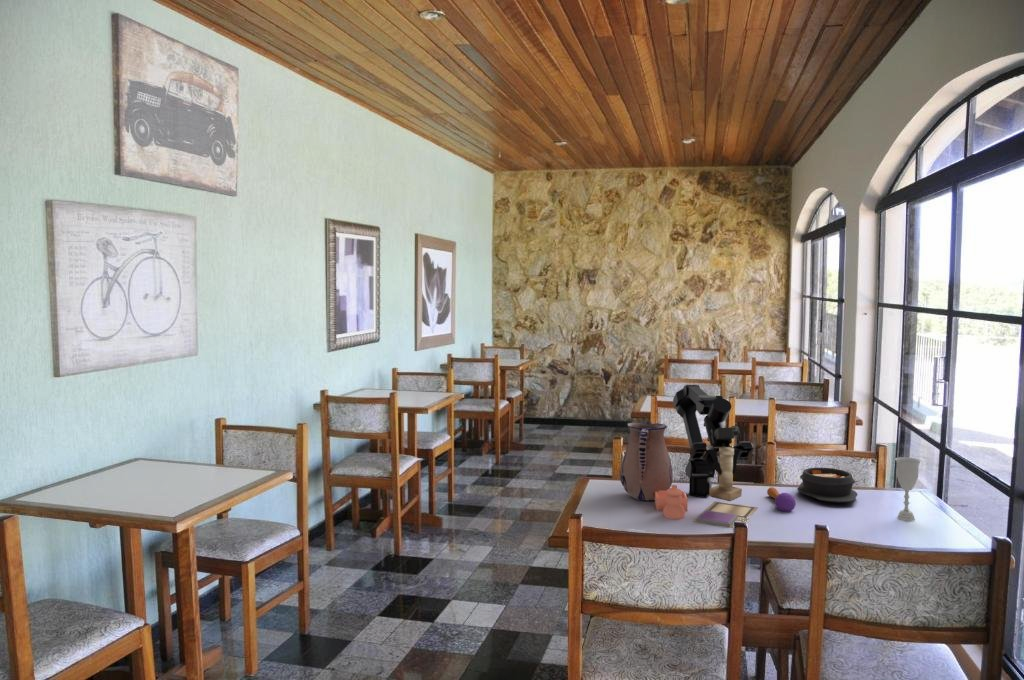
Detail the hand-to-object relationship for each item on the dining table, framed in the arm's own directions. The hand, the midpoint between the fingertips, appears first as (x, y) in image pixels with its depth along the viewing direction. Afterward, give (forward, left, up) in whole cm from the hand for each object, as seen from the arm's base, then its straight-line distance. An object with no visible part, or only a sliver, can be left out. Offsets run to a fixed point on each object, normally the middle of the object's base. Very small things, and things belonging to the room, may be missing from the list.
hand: (727, 474), depth 222 cm
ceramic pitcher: (-29, +8, -14) cm, 33 cm away
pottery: (-17, -2, -14) cm, 22 cm away
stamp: (-1, +1, -7) cm, 8 cm away
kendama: (+11, +22, -14) cm, 29 cm away
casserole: (+23, +40, -14) cm, 48 cm away
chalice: (+47, +26, -14) cm, 55 cm away
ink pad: (-2, -5, -13) cm, 14 cm away
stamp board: (-1, +2, -14) cm, 14 cm away
